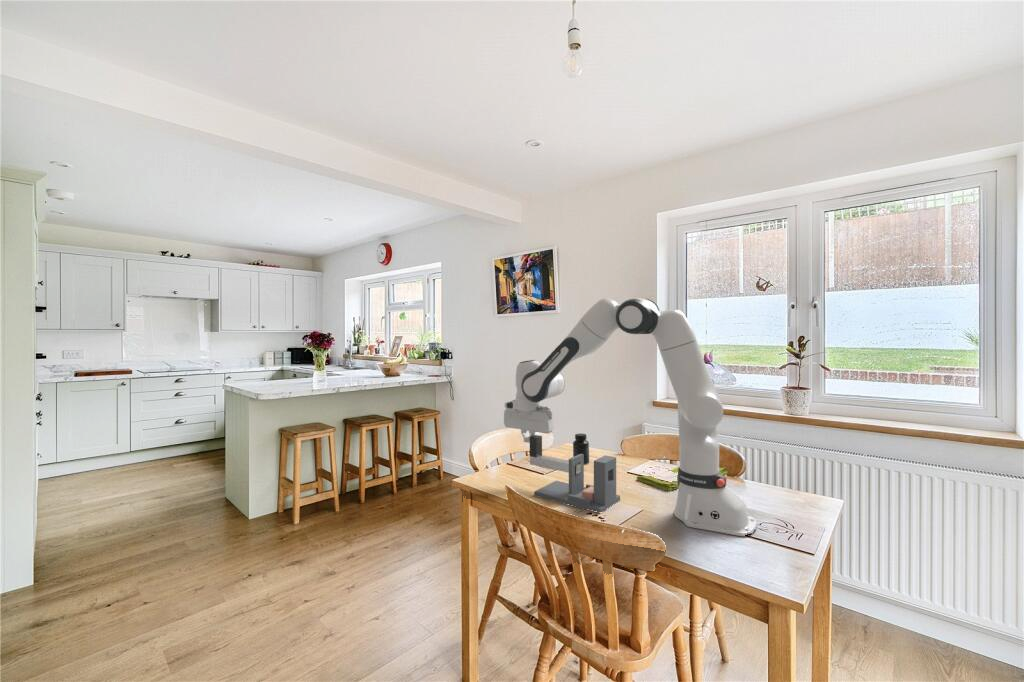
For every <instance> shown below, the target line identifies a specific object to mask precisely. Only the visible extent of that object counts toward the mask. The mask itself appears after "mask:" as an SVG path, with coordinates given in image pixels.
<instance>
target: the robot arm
mask: <svg viewBox="0 0 1024 682" xmlns="http://www.w3.org/2000/svg"><path fill="white" fill-rule="evenodd" d="M618 329H620V330H621V331H623V332H625V333H626V334H630V335H650V334H651V335H652V336H653V337H654V339H655V341H656V344H657V347H658V350H659V353H660V356H661V358H662V361H663V364H664V366H665V370H666V372H667V376H668V378H669V380H670V383H671V387H672V389H673V390H674V394H675V397H676V399H677V421H678V438H679V439H678V440H679V466H678V467H679V468H678V467H677V468H678V475H677V480H678V486H679V490H677V498H676V503H675V507H674V510H673V515H674V516H675V518H677V519H679V520H680V521H682V522H683V523H684V525H685V526H686V527H689V528H693V529H694V528H695V529H700V530H705V531H711V532H716V533H722V534H728V535H733V536H738V537H746V536H745V535H747V534H749V533H750V532H752V531H754V530H755V528H756V526H757V527H758V524H757V520H756V518H754V517H753V516H750V515H749V512H748V507H747V504H746V502H745V500H744V499H743V498H742V497H740V496H739V495H738V494H736V493H735V492H734V491H733V490H732V489H731V488H729V486H728V485H727V477H728V474H726V475H723V474H722V473H721V472H720V471H719V468H720V443H719V437H718V429H717V426H718V425H719V424H720V423H721V422H722V419H723V417H724V407H723V406H724V405H723V403H722V400H721V398H720V395H719V393H718V390H717V387H716V386H715V384H714V382H713V378H712V377H711V374H710V372H709V370H708V367H707V365H706V362H705V359H704V357H703V354H702V351H701V348H700V346H699V343H698V340H697V337H696V335H695V331H694V330H693V328H692V326H691V324H690V321H689V320H688V318H687V317H686V315H685V314H684V312H682V310H679V309H674V308H673V309H666V310H662V311H661V310H660V308H659V306H658V304H656V302H655V301H653V300H651V299H648V298H643V297H635V298H631V299H626V300H625V301H623V302H622V303H619V302H617V301H616V300H614V299H612V298H608V297H605V298H601V299H599V300H598V301H597V302H595V304H593V305H592V306H591V307H590V308H589V309H588V310H587V311H586V313H584V315H583V316H581V318H580V319H579V321H578V322H577V323H576V325H575V326H574V327H573V328H572V329H571V331H570V332H569V333H568V335H567V336H565V338H564V339H563V340H562V342H560V343H559V345H557V346H556V347H555V349H554V350H552V351H551V353H550V354H549V355H548V356H547V357H546V359H545V360H544V361H543V362H542V363H540V362H539V361H538V360H537V359H530V360H523V361H520V362H519V363H518V364H517V366H516V368H515V369H516V370H515V387H516V394H515V399H513V400H509V401H506V402H504V408H505V410H504V411H503V425H504V427H505V428H510V429H516V430H520V433H521V435H522V437H523V443H528V444H530V436H534V435H536V433H540V434H547V435H548V434H551V433H552V432H553V431H554V420H553V411H552V409H551V408H549V406H544V405H543V406H542V405H541V401H543V400H546V399H551V398H553V397H558V396H559V395H560V394H562V392H563V391H564V390H565V387H566V381H565V378H564V376H563V374H562V373H561V372H562V371H563V370H564V369H565V367H566V366H568V365H569V364H570V363H572V362H573V361H576V360H578V359H579V358H582V357H585V356H588V355H590V354H593V353H595V352H596V351H597V350H599V349H600V348H601V347H602V346H603V345H604V344H605V343H606V342H607V341H608V339H609V338H611V336H612V335H613V334H614V332H615V331H617V330H618ZM527 432H528V434H529V435H528V434H527ZM756 529H757V528H756ZM755 531H756V530H755Z"/></svg>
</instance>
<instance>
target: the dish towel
mask: <svg viewBox="0 0 1024 682" xmlns="http://www.w3.org/2000/svg"><path fill="white" fill-rule="evenodd" d="M679 467H680V466H678V467H675V468H672V469H673V470H671V469H669V470H670V471H672V472H674V473H675V472H676V473H677V472H678V468H679ZM727 470H728V468H727V467H719V471H720V472H721V473H722V474H723V475H724V476H725V475H726V474H727V475H728V471H727ZM636 480H637V481H638V480H639V482H641V481H642V483H643V482H644V483H643V484H646V483H647V485H648V484H649V485H648V486H651V485H652V486H651V487H654V486H655V487H654V488H657V487H658V488H657V489H659V488H661V489H660V490H662V489H664V490H663V491H665V490H666V491H665V492H668V491H669V493H671V492H674V490H675V491H678V490H677V489H679V486H678V480H677V481H672V482H666V481H661V480H658V479H656V478H654V477H652V476H646V475H643V476H641V475H638V476H636ZM670 491H671V492H670Z"/></svg>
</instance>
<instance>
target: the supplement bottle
mask: <svg viewBox="0 0 1024 682" xmlns="http://www.w3.org/2000/svg"><path fill="white" fill-rule="evenodd" d="M574 439H575V440H573V442H572V457H574V456H577V455H579V454H584V465H587V464H589V463H590V442H589V441H588V440H587V434H586V433H575V434H574Z"/></svg>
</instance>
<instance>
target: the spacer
mask: <svg viewBox="0 0 1024 682" xmlns="http://www.w3.org/2000/svg"><path fill="white" fill-rule="evenodd" d="M582 497H583V498H587V499H591V500H592V502H593V501H594V487H592V486H591V487H589V488H587V489H585V490H583V491H582Z"/></svg>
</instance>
